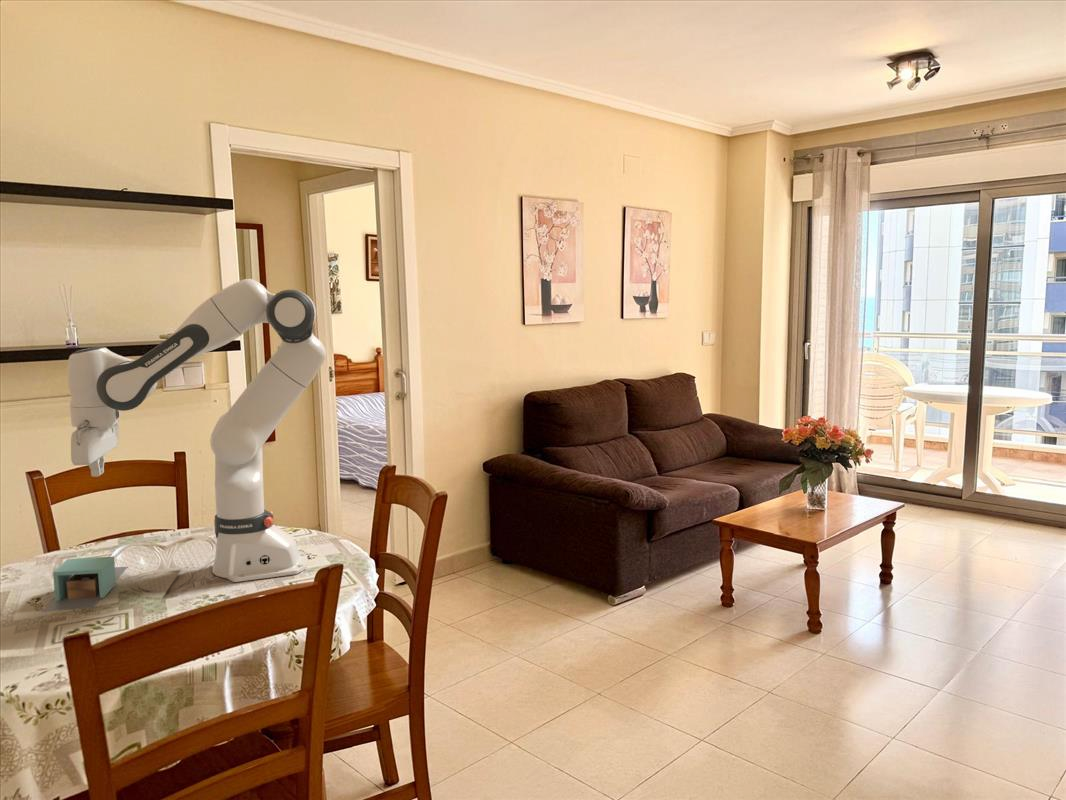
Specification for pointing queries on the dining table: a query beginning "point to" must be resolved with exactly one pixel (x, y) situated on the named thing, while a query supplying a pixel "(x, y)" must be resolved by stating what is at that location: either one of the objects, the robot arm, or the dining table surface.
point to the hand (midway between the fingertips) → (97, 475)
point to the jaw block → (83, 586)
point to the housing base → (80, 602)
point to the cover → (85, 566)
